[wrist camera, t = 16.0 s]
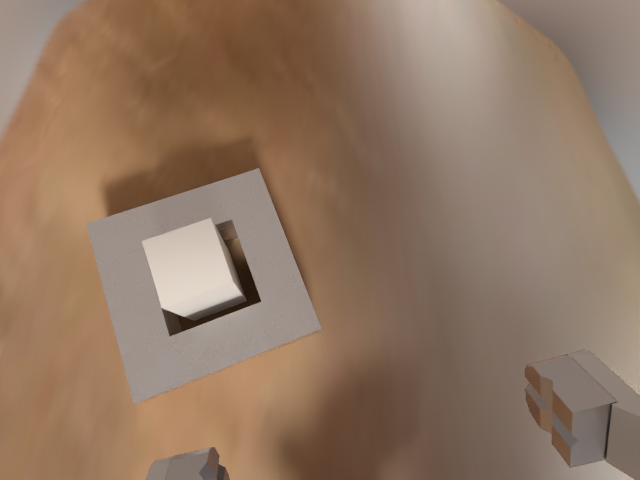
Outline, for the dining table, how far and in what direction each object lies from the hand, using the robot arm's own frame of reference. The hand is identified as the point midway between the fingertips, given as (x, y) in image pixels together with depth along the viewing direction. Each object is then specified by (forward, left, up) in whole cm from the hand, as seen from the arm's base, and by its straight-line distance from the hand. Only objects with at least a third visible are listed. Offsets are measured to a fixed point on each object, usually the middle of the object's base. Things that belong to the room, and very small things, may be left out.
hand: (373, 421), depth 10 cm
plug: (+9, +5, -19) cm, 22 cm away
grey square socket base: (+9, +5, -19) cm, 22 cm away
